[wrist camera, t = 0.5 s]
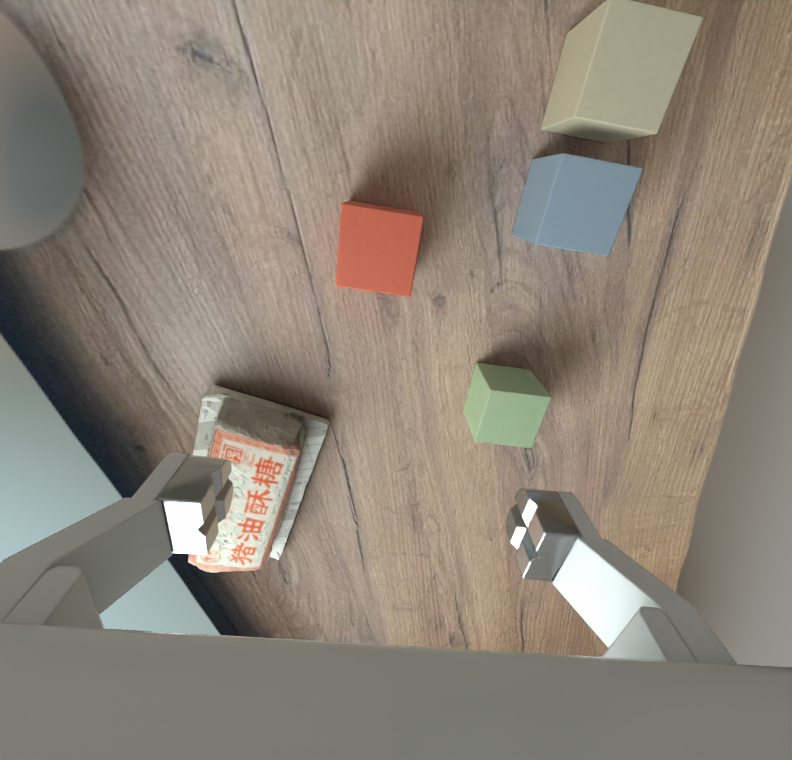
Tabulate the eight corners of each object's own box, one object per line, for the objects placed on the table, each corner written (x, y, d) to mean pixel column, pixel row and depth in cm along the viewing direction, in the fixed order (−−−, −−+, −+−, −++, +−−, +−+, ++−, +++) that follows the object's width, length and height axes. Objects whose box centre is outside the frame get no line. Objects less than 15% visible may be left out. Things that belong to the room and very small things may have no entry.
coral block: (348, 200, 24) (341, 202, 20) (417, 211, 24) (424, 216, 20) (342, 271, 26) (335, 286, 22) (406, 280, 26) (410, 297, 22)
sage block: (475, 361, 29) (490, 389, 25) (530, 369, 30) (552, 397, 26) (462, 409, 31) (474, 442, 27) (513, 415, 32) (532, 448, 28)
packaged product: (181, 412, 25) (323, 451, 27) (210, 379, 29) (331, 415, 31) (157, 574, 33) (269, 596, 34) (183, 529, 37) (282, 551, 39)
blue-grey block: (531, 158, 23) (563, 152, 19) (599, 171, 23) (644, 168, 19) (510, 235, 25) (535, 244, 21) (573, 245, 25) (609, 256, 21)
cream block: (566, 32, 20) (611, -6, 16) (642, 49, 21) (704, 16, 17) (539, 130, 22) (573, 117, 18) (609, 143, 23) (658, 134, 19)
